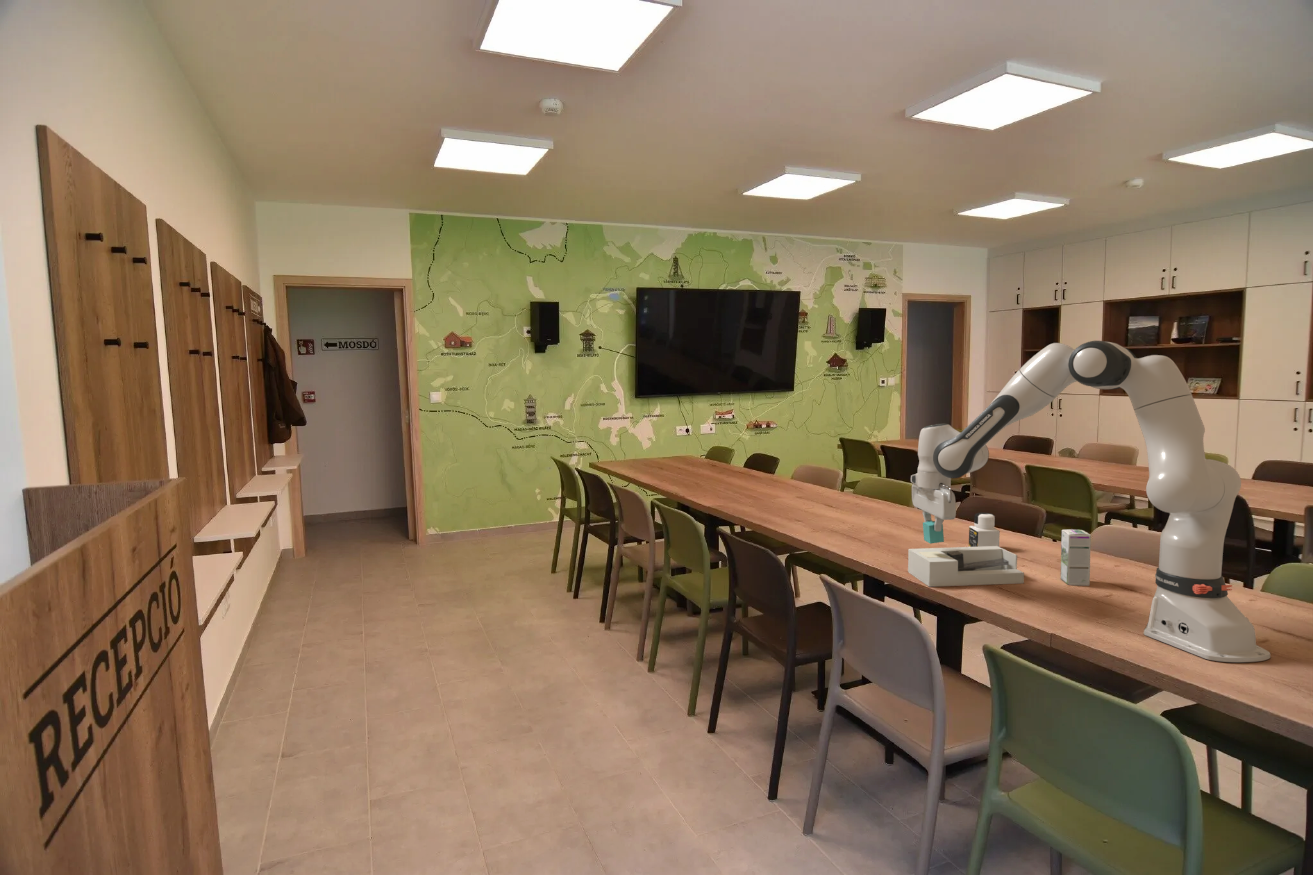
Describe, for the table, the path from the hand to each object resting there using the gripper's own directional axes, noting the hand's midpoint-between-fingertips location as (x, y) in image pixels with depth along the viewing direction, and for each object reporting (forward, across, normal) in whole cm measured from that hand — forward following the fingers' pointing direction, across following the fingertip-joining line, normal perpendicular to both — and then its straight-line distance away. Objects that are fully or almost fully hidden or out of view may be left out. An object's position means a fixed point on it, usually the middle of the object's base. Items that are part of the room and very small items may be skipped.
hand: (932, 528), depth 198 cm
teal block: (+4, 0, 0) cm, 4 cm away
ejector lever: (+12, 0, -14) cm, 18 cm away
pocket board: (+15, 0, -9) cm, 17 cm away
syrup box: (+15, -8, -37) cm, 41 cm away
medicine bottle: (+15, +29, -31) cm, 45 cm away
